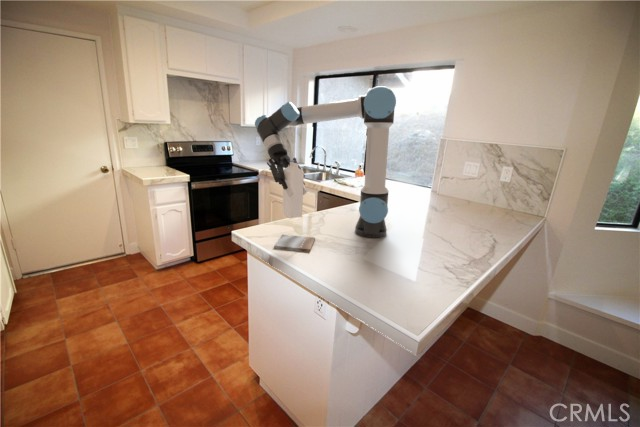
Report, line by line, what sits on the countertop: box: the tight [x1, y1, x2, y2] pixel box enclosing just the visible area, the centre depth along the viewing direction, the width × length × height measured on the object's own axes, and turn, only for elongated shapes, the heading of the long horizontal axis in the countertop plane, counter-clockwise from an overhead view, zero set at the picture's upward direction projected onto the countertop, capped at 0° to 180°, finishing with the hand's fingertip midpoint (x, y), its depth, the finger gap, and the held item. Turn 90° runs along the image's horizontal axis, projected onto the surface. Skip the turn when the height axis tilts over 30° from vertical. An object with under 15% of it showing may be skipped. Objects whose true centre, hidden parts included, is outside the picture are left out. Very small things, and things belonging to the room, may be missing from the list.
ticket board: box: [273, 234, 316, 253], centre depth 129 cm, size 15×13×1 cm
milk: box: [282, 162, 305, 219], centre depth 123 cm, size 6×6×22 cm
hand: (298, 194), depth 120 cm, fingers closed on milk, 6 cm apart
